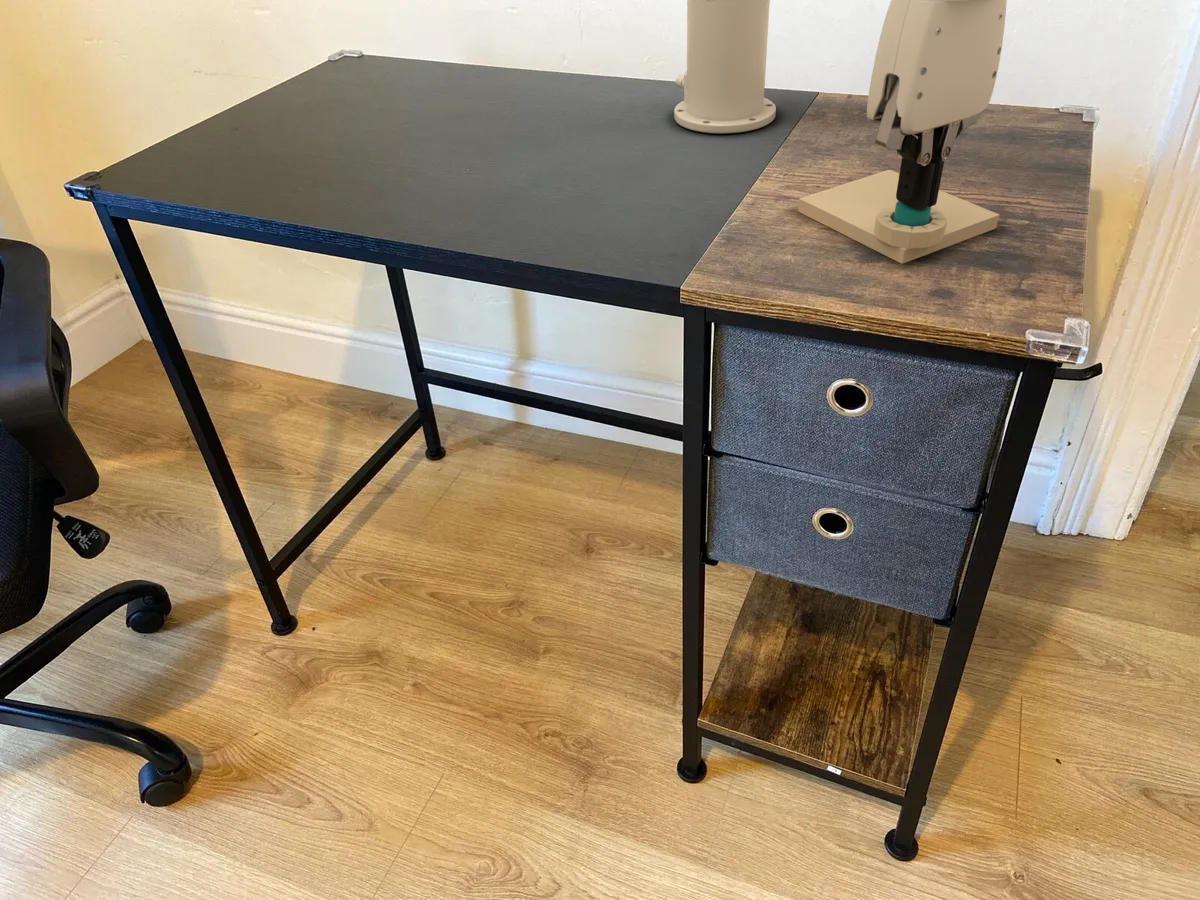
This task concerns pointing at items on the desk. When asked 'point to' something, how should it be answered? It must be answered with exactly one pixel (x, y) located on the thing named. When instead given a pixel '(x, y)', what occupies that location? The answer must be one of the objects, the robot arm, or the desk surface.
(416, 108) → the desk surface
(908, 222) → the button
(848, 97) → the desk surface
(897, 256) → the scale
